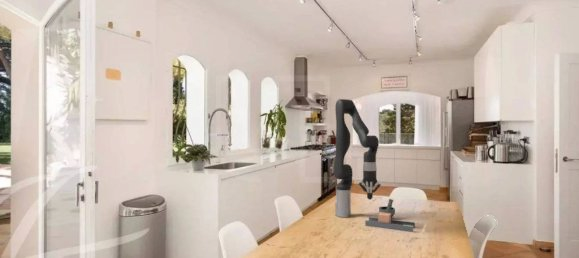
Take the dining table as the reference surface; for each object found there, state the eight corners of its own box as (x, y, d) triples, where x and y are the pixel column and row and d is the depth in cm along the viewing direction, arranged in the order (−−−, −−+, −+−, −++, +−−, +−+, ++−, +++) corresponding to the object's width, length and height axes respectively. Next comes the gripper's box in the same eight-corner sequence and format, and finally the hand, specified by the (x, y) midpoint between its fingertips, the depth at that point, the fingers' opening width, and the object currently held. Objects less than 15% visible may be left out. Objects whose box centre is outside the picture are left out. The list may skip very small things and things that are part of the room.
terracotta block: (378, 226, 196) (378, 214, 196) (380, 223, 201) (380, 212, 201) (388, 228, 193) (388, 215, 193) (390, 225, 199) (390, 213, 199)
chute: (365, 227, 198) (365, 220, 198) (369, 223, 206) (369, 216, 206) (412, 233, 186) (412, 226, 186) (414, 229, 194) (415, 222, 194)
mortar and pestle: (389, 222, 208) (389, 202, 208) (376, 219, 215) (376, 200, 215) (398, 218, 216) (398, 199, 216) (385, 215, 222) (385, 197, 222)
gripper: (356, 169, 200) (357, 199, 201) (379, 170, 194) (380, 201, 195) (360, 168, 207) (360, 197, 207) (382, 169, 201) (382, 199, 201)
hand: (369, 199), depth 201 cm, fingers closed
